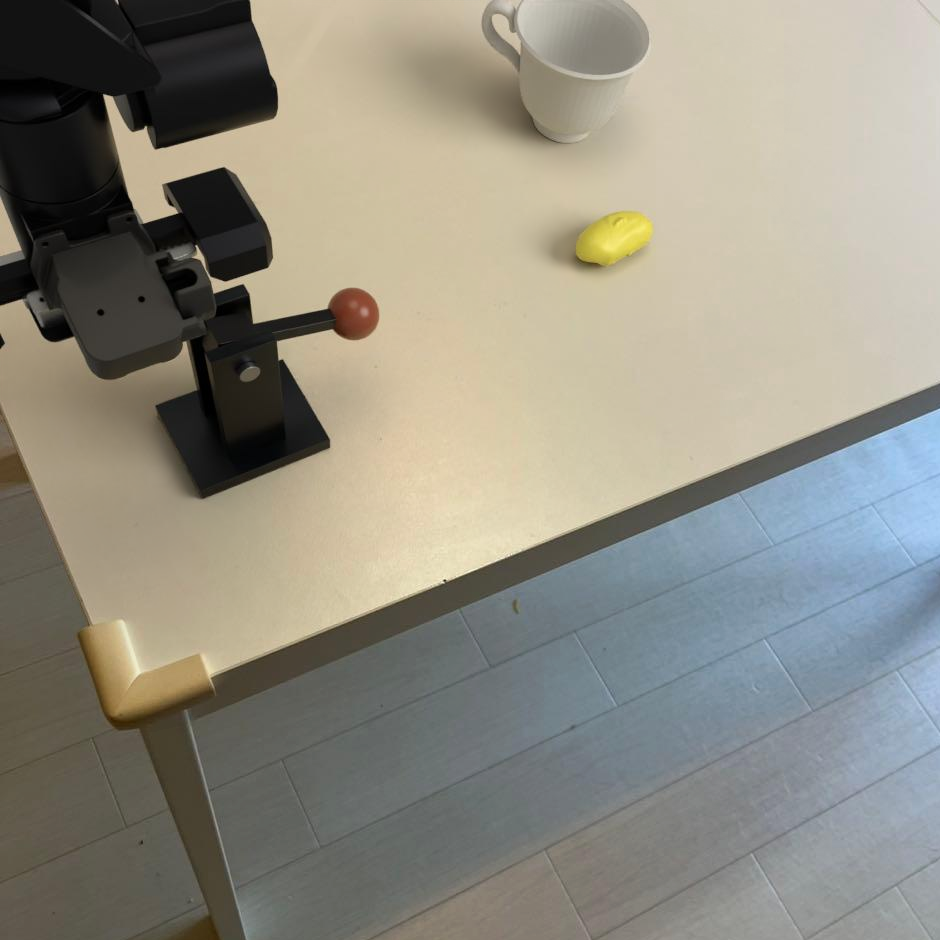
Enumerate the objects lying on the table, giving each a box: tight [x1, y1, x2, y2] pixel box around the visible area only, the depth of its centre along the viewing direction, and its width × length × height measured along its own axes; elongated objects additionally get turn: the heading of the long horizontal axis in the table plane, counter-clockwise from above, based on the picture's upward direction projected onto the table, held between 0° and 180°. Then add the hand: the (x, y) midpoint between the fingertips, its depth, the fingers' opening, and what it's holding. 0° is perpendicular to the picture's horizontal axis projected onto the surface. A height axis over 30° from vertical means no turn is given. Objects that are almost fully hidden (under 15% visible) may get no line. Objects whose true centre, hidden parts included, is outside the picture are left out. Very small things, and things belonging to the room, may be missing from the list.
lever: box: [202, 287, 380, 351], centre depth 69 cm, size 12×4×4 cm, turn 121°
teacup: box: [480, 0, 652, 144], centre depth 92 cm, size 12×15×10 cm
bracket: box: [154, 283, 331, 500], centre depth 70 cm, size 10×8×13 cm
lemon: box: [575, 210, 654, 267], centre depth 88 cm, size 4×8×4 cm, turn 120°
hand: (118, 357), depth 62 cm, fingers closed
